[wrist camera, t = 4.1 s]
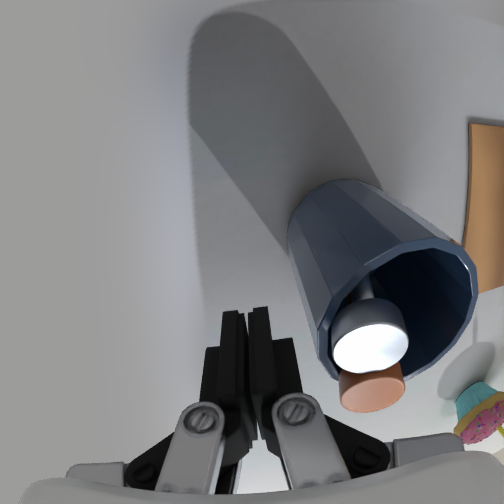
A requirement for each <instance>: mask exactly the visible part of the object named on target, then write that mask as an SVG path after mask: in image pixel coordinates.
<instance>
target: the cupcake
mask: <svg viewBox="0 0 504 504" xmlns="http://www.w3.org/2000/svg"><path fill="white" fill-rule="evenodd" d="M456 408H457V415H458V424H457V425H456V427H455V428H454V434H456V435H457V436H458V437H460V438H461V440H462V442H463V444H465V443H466V444H467V445H469V444H472V443H477V442H479V441H480V442H481V441H482V440H483V439H485V438H487V437H489V436H490V435H491V434H492V433H493V432H495V431H496V430H498V431H499V433H500V434H501V435H502V436H503V437H504V429H503V428H502V426H501V425H502V423H504V392H501V391H497V390H495V389H493V388H491V387H490V386H488V385H487V384H486V383H484V382H482V381H481V382H477V383H475V384H473V385H471V386H470V387H468V388H467V389H466V390H465V391H464V392H463V393H462V394H461V395H460V396H459V397H458V399H457V401H456Z"/></svg>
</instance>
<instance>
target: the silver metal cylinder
mask: <svg viewBox="0 0 504 504" xmlns="http://www.w3.org/2000/svg"><path fill="white" fill-rule="evenodd" d="M351 298H352V303H351V304H349V305H347V306H346V307H344V308H343V309H342V310H341V311H340V312H339V313H338V314H337V315H336V317H335V318H334V320H333V323H332V327H331V334H332V356H333V359H334V361H335V362H336V364H337V365H338V366H339V367H341V368H342V369H344V370H346V371H349V372H353V373H361V374H364V373H374V372H378V371H381V370H384V369H386V368H389V367H390V366H392V365H394V364H395V363H397V362H398V361H399V360H400V359H401V358H402V357H403V356H404V354H405V353H406V351H407V348H408V344H409V339H408V334H407V331H406V327H405V323H404V320H403V316H402V313H401V311H400V310H399V308H398V307H397V306H396V305H395V304H393V303H392V302H390V301H387V300H384V299H379V298H374V294H373V289H372V285H371V281H370V276H369V273H368V274H367V275H366V276H365V277H364V278H363V279H362V280H361V281H360V282H359V283H358V285H357V286H356V287H355V288H354V289H353V290H352V291H351Z"/></svg>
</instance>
